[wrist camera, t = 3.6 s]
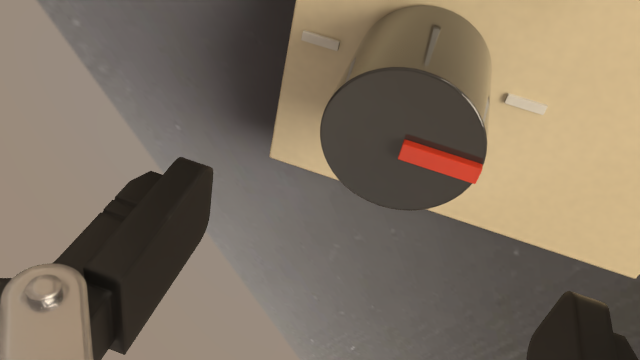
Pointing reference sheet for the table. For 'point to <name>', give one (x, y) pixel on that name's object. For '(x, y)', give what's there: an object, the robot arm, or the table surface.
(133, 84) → the table surface
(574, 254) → the panel
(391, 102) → the knob
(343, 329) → the table surface
